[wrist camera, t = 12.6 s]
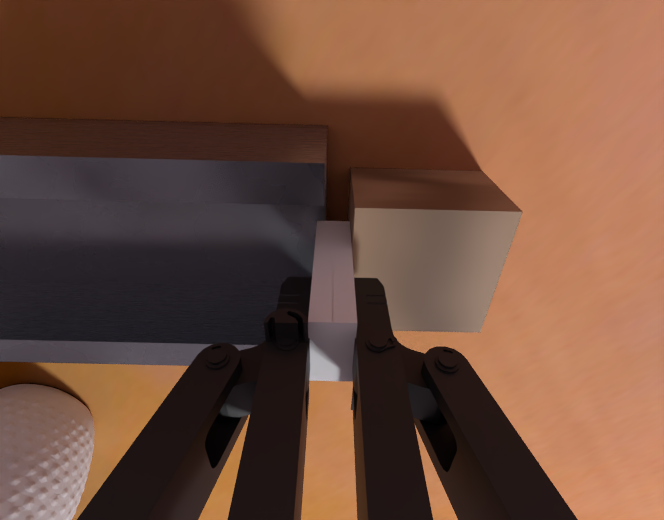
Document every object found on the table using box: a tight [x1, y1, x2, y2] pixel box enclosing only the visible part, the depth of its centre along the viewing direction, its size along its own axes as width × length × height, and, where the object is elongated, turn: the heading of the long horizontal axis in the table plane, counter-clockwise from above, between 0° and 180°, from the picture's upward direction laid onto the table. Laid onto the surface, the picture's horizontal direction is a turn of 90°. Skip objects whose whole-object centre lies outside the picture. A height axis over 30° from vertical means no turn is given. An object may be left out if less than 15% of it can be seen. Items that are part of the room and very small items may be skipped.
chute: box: [0, 117, 327, 366], centre depth 16 cm, size 24×10×5 cm, turn 89°
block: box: [348, 168, 522, 332], centre depth 17 cm, size 6×6×4 cm
